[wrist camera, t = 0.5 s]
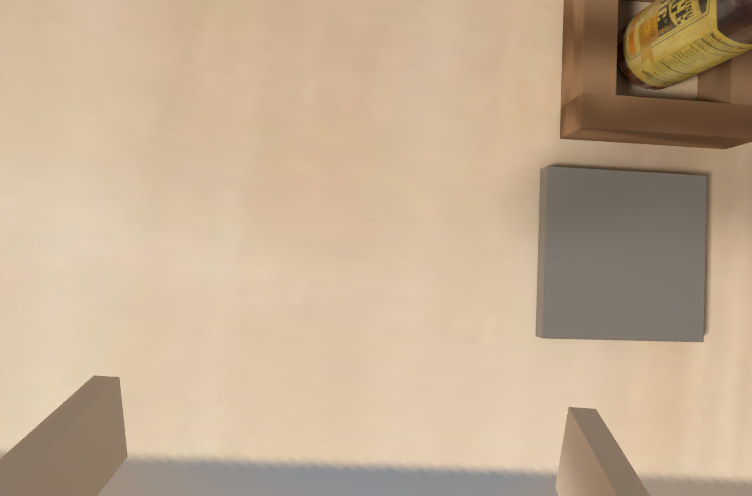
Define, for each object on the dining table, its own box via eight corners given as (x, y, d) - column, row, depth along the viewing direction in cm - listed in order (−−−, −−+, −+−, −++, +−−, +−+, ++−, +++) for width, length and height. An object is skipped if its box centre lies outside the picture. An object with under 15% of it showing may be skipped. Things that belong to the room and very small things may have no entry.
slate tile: (540, 169, 41) (547, 166, 39) (695, 178, 42) (706, 175, 41) (535, 335, 40) (542, 338, 39) (692, 339, 42) (703, 342, 40)
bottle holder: (565, -37, 41) (587, -65, 38) (728, -21, 43) (764, -46, 39) (560, 138, 41) (581, 127, 37) (725, 149, 42) (761, 139, 39)
